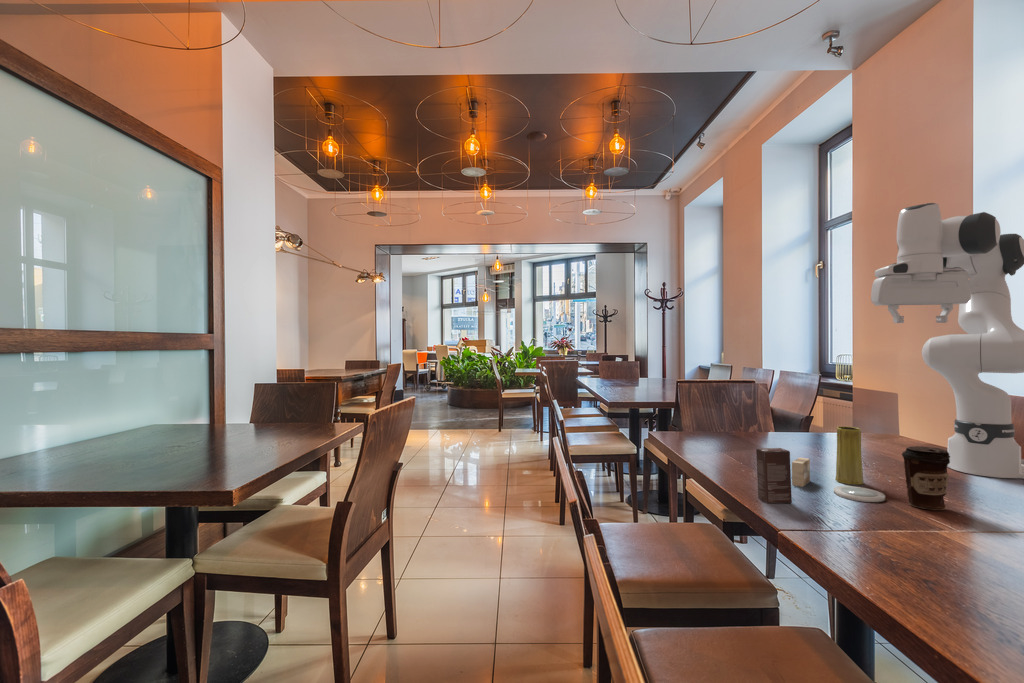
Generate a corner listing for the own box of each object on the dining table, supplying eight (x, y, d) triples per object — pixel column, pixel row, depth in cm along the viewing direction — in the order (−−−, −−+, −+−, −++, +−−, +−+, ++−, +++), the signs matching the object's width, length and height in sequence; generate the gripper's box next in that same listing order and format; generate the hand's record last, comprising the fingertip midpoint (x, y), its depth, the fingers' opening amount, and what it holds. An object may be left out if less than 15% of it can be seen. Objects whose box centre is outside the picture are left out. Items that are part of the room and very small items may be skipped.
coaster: (844, 486, 121) (843, 483, 121) (892, 496, 112) (891, 493, 112) (826, 494, 115) (826, 490, 115) (875, 505, 107) (875, 501, 107)
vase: (869, 485, 122) (868, 430, 122) (845, 485, 122) (844, 430, 122) (852, 478, 128) (852, 426, 128) (830, 478, 128) (829, 426, 128)
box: (781, 497, 113) (780, 447, 113) (792, 503, 108) (791, 451, 109) (756, 497, 113) (755, 447, 113) (766, 503, 108) (765, 451, 109)
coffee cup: (963, 514, 100) (962, 453, 101) (918, 512, 102) (917, 452, 102) (935, 501, 109) (934, 445, 109) (894, 499, 111) (893, 444, 111)
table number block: (799, 479, 128) (799, 457, 128) (810, 481, 126) (810, 458, 126) (792, 485, 123) (791, 462, 123) (803, 487, 121) (802, 463, 121)
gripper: (958, 268, 120) (959, 323, 120) (867, 271, 124) (868, 323, 124) (977, 264, 114) (978, 321, 113) (881, 267, 118) (881, 322, 118)
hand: (919, 322), depth 119 cm, fingers open, 8 cm apart
